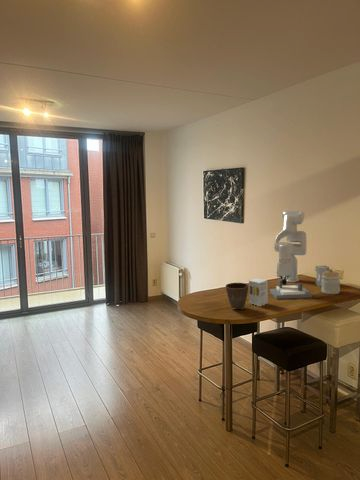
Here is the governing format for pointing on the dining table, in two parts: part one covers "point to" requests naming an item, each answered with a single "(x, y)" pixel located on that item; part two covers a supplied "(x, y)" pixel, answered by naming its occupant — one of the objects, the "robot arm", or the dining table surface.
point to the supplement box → (258, 292)
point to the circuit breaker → (320, 274)
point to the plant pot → (237, 294)
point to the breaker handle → (299, 286)
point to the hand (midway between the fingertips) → (284, 284)
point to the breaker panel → (279, 296)
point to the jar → (330, 282)
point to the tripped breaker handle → (280, 283)
